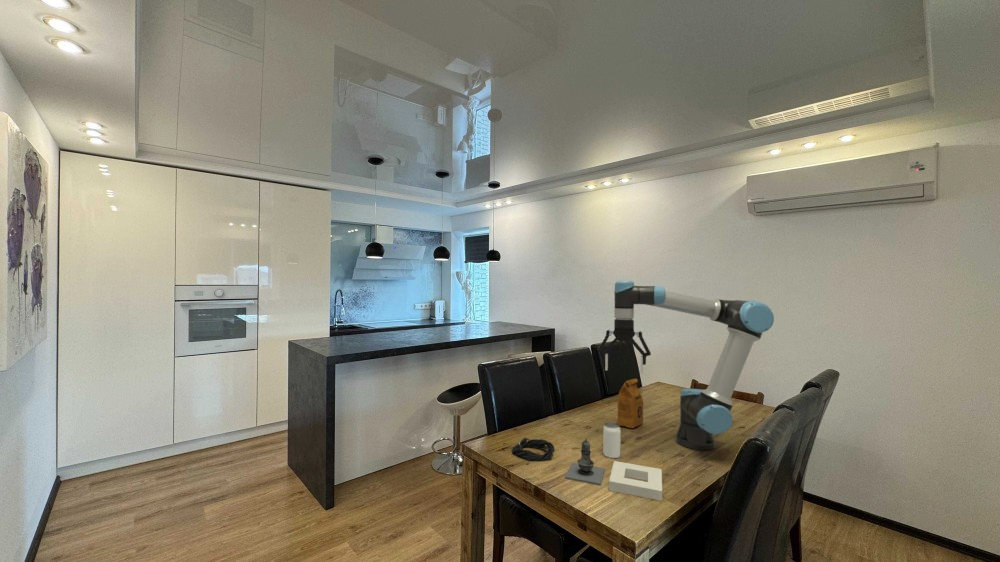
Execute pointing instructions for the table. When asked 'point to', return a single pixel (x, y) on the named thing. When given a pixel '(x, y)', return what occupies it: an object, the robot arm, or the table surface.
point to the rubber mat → (592, 479)
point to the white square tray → (636, 487)
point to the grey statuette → (585, 460)
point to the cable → (537, 445)
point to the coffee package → (630, 405)
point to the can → (611, 440)
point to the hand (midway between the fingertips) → (623, 371)
